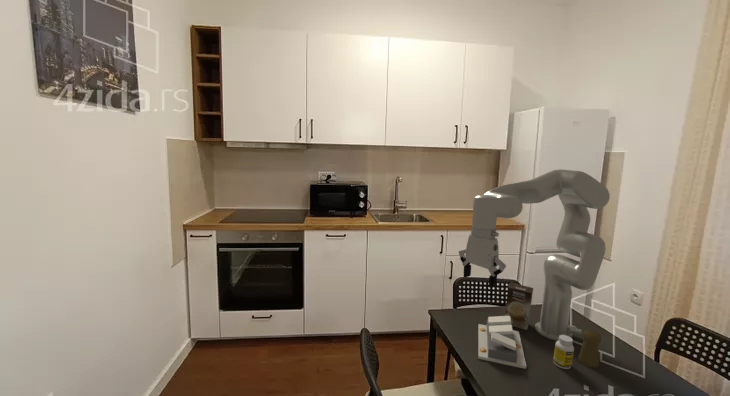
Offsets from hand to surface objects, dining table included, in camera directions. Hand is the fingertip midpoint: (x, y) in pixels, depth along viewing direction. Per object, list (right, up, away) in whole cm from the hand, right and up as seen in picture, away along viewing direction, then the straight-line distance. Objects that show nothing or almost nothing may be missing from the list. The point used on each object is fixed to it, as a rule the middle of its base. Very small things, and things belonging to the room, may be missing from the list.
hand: (479, 281), depth 113 cm
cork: (+38, -28, +2) cm, 48 cm away
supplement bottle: (+28, -28, 0) cm, 40 cm away
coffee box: (+24, -24, +25) cm, 42 cm away
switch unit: (+11, -26, +10) cm, 30 cm away
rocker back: (+13, -20, +15) cm, 28 cm away
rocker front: (+9, -22, +2) cm, 24 cm away
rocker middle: (+11, -21, +9) cm, 25 cm away
